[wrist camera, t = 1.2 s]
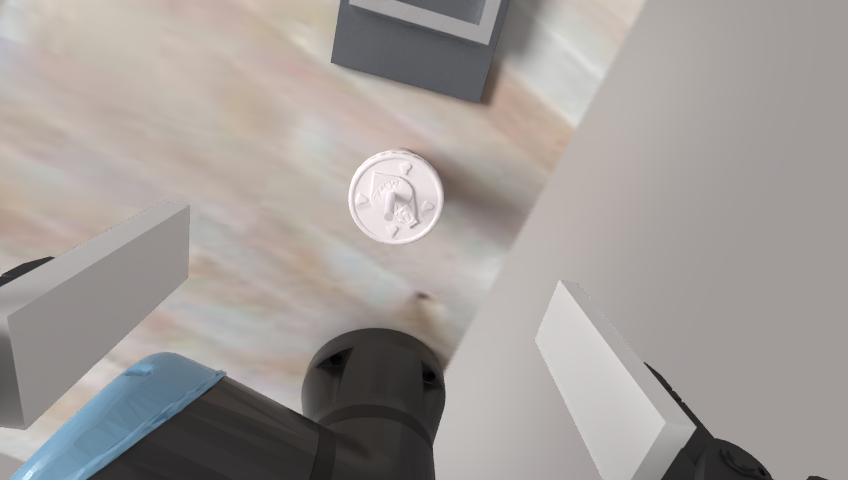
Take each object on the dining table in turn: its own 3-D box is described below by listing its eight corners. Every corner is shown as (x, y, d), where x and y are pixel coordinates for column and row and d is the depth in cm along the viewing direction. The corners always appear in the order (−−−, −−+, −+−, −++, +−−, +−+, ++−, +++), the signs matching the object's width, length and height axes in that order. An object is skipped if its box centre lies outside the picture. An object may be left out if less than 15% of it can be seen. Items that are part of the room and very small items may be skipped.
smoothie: (406, 116, 34) (407, 143, 21) (449, 177, 36) (473, 236, 23) (347, 160, 35) (312, 212, 22) (391, 217, 37) (384, 294, 24)
